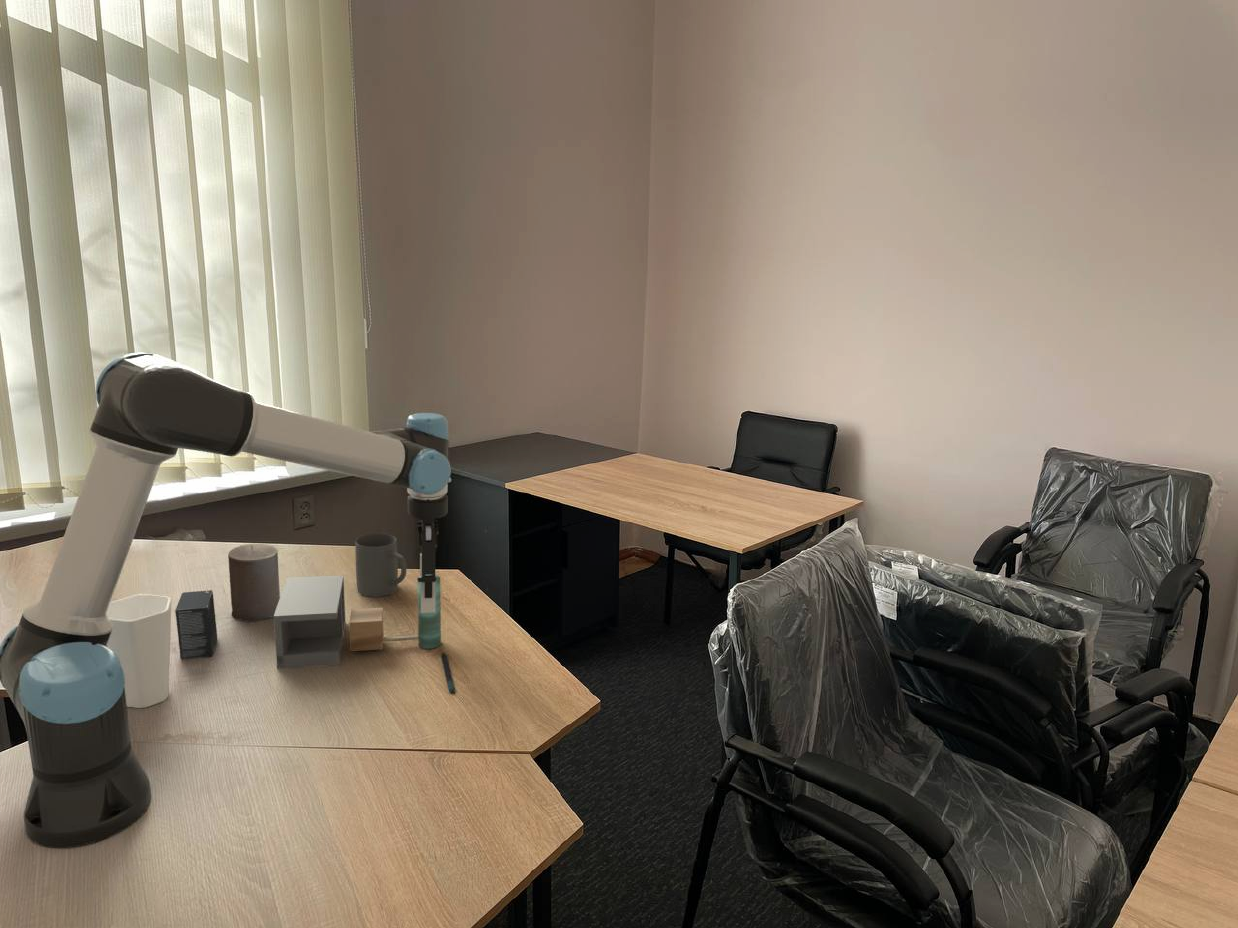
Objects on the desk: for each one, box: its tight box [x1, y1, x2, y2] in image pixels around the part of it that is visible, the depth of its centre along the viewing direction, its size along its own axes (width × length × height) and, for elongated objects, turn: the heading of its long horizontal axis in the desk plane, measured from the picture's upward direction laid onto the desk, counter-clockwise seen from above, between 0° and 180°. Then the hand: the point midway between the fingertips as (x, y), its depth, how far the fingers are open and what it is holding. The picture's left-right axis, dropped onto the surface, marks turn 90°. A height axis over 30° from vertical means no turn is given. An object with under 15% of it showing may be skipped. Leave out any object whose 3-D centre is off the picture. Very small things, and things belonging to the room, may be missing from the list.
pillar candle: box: [227, 543, 281, 622], centre depth 182 cm, size 10×10×15 cm
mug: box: [354, 532, 407, 598], centre depth 195 cm, size 14×9×12 cm
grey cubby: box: [273, 574, 346, 669], centre depth 170 cm, size 18×11×11 cm, turn 13°
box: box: [174, 589, 218, 661], centre depth 166 cm, size 8×6×11 cm
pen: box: [440, 651, 455, 694], centre depth 163 cm, size 1×16×1 cm, turn 17°
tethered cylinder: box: [348, 574, 442, 652], centre depth 170 cm, size 6×17×14 cm, turn 103°
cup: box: [106, 593, 172, 709], centre depth 148 cm, size 11×10×17 cm
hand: (427, 597), depth 171 cm, fingers open, 13 cm apart
